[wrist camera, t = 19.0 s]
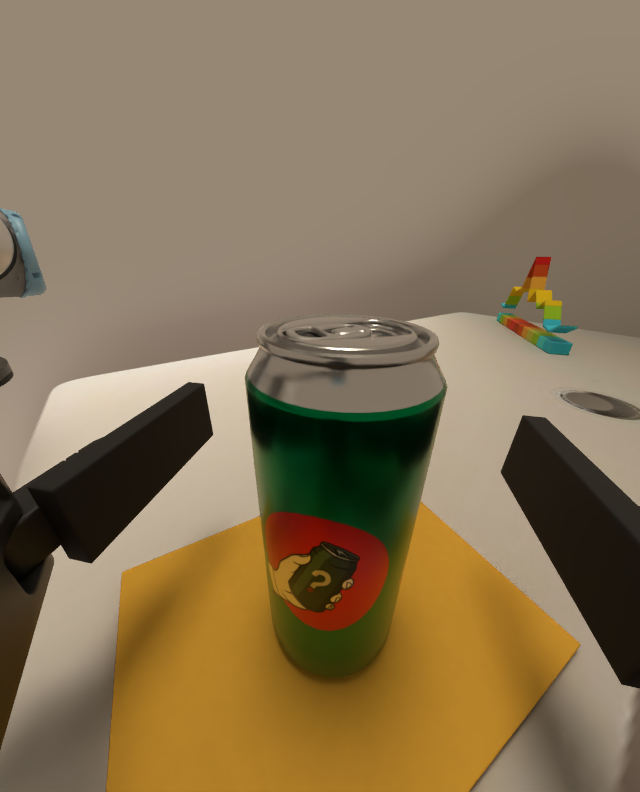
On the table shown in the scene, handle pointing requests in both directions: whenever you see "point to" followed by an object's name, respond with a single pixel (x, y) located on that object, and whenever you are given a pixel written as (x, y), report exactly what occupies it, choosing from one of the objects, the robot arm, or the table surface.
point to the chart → (543, 301)
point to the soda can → (340, 475)
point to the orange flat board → (321, 677)
